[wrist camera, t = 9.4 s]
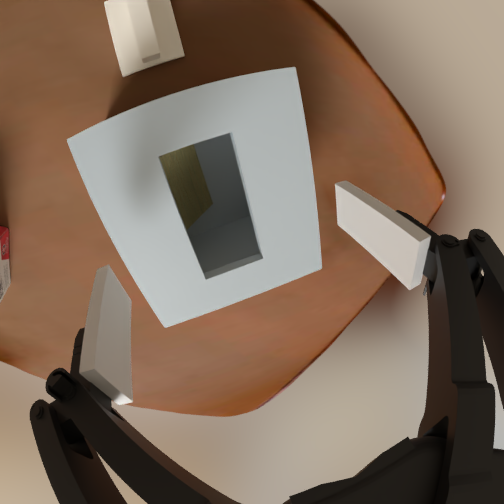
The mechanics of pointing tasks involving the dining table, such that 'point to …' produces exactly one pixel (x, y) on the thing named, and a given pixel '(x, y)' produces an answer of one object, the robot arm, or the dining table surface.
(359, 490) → the robot arm
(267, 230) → the box
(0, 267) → the ink box
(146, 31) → the token stand
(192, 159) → the block
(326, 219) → the dining table surface
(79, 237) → the dining table surface
